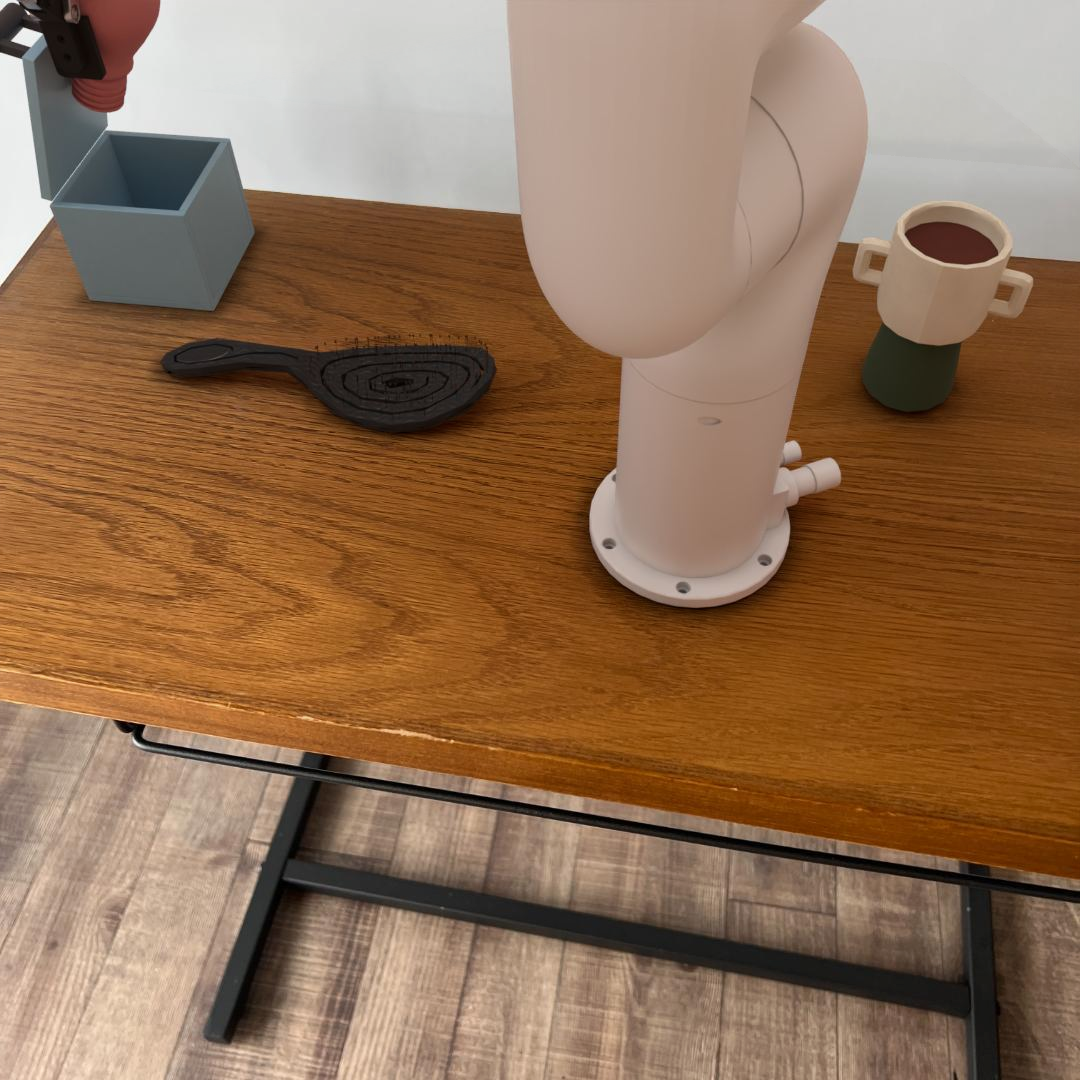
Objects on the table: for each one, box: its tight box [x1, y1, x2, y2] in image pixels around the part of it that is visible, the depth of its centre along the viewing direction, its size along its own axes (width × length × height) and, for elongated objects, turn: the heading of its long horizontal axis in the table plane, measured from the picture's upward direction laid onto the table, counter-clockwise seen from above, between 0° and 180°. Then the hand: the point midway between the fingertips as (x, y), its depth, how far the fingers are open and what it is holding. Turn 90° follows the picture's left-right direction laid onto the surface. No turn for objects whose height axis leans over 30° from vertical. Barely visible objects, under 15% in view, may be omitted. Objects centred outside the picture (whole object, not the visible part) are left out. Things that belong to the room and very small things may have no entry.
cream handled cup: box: [852, 199, 1034, 413], centre depth 72 cm, size 11×7×13 cm, turn 66°
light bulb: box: [71, 0, 161, 114], centre depth 72 cm, size 7×7×12 cm
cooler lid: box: [0, 2, 109, 202], centre depth 76 cm, size 11×10×5 cm
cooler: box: [49, 129, 256, 312], centre depth 84 cm, size 10×10×9 cm
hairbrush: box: [160, 333, 498, 434], centre depth 77 cm, size 8×4×25 cm
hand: (106, 44), depth 73 cm, fingers closed on light bulb, 7 cm apart
